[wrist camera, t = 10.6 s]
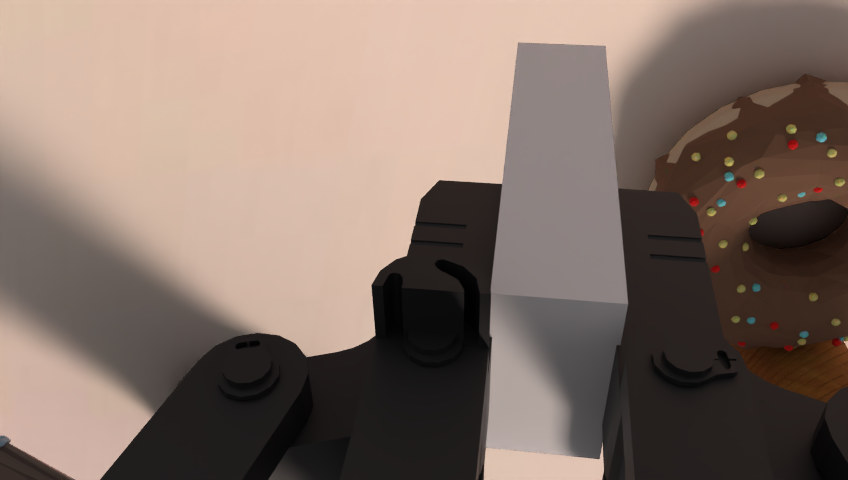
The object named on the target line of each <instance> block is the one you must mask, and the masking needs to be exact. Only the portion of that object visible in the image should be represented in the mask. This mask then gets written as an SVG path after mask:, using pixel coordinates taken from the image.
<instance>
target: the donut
mask: <svg viewBox="0 0 848 480" xmlns="http://www.w3.org/2000/svg"><path fill="white" fill-rule="evenodd" d="M655 164H656V171H655V177H654V179H653V181H652V183H651V185H650V187H649V190H648V191H663V192H678V193H679V194H680V195H681V196H682V197H683V199H684V200H685V201H686V202H687V203H688V204H689V205H690V207H691V208H692V209H693V210H694V211H695V212H696V213H697V216H698V220H699V225H700V230H701V234H702V243H703V244H704V248H705V253H706V263H708V267H709V272H710V276H711V281H712V286H713V290H714V295H715V300H716V304H717V309H718V314H719V318H720V323H721V328H722V332H723V336H724V339H725V340H726V341H727V342H729V343H731V344H734V345H736V346H738V347H740V348H742V349H744V350H747V349H753V348H758V347H764V346H766V347H773V348H784V349H785V350H786V351H791V350H792V349H793V348H797V347H798V346H803V345H808V344H813V343H818V342H823V341H828V340H832V344H833V345H834V346H836V347H837V346H839V345H841V342H842V341H843V340H844V341H848V214H847V218H846V219H845V221H844V222H843V223H842V224H841V226H840V227H839V228H838V229H837V230H836V231H834V232H833V233H832V234H830V235H829V236H828V237H826V238H824V239H822V240H819V241H817V242H814V243H811V244H809V245H806V246H804V247H797V248H784V249H778V248H773V247H769V246H765V245H761V244H759V243H757V242H756V241H754V240H752V239H751V238H750V235H749V228H750V226H751V225H754V224H756V223H757V217H758V216H759V215H761V214H763V213H766V212H768V211H771V210H774V209H778V208H782V207H786V206H791V205H795V204H799V203H803V202H807V201H819V200H826V199H830V200H832V201H834V202H836V203H838V204H840V205H842V206H844V207H846V208H847V209H848V82H828V81H825V80H822V79H819V78H816V77H813V76H810V75H807V74H805V75H803V76H802V77H801V78H800V79H799V80H798V81H796V82H795V83H794V84H790V85H785V86H780V87H775V88H770V89H765V90H761V91H759V92H756V93H754V94H751V95H749V96H747V97H739V98H738V99H737V101H735V102H732V103H730V104H728V105H725V106H723V107H721V108H719V109H718V110H717V111H715V112H714V113H712V114H711V115H710V116H708V117H707V118H705V119H704V120H702V121H701V122H700V123H698V124H697V125H695V126H694V127H692V128H691V129H690V130H688V131H687V132H686V133H685V134H684V136H683V137H682V138H681V139H680V140H679V141H678V142H677V144H676V145H675V146H674V147H673V148H672V149H671V150H670V151H669V153H668V154H666V155H664V156H662V157H660V158H658V159H656V160H655Z"/></svg>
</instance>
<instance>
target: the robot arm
mask: <svg viewBox="0 0 848 480" xmlns="http://www.w3.org/2000/svg"><path fill="white" fill-rule="evenodd" d="M372 296H373V309H374V321H375V333H376V336H374V337H373V338H372V339H370V340H369V341H367V342H365V343H363V344H361V345H359V346H356V347H354V348H351V349H347V350H344V351H340V352H335V353H329V354H323V355H318V356H312V357H306V356H305V355H304V354H303V353H302V351H301V350H300V349H299V348H298V346H297V345H296V344H295V343H293V342H291V341H289V340H287V339H285V338H283V337H281V336H278V335H270V334H261V333H255V334H249V335H243V336H237V337H234V338H232V339H230V340H227V341H225V342H223V343H221V344H219V345H216V346H215V347H214V348H212V349H211V350H210V351H209V352H208V353H207V354H206V355H204V356H203V357H202V358H201V359H200V360H199V361H198V362H197V363H196V365H195V366H194V367H193V368H192V369H191V371H190V372H189V373H188V374H187V375H186V376H185V377H184V378H183V379H182V380H181V381H180V382H179V384H178V385H177V387H176V389H175V390H174V391H173V392H172V394H171V395H170V396H169V397H168V398H167V400H166V401H165V402H164V403H163V404H162V406H161V407H160V408H159V409H158V410H157V412H156V413H155V414H154V415H153V416H152V418H151V419H150V420H149V421H148V423H147V424H146V425H145V426H144V427H143V429H142V430H141V431H140V432H139V433H138V435H137V436H136V437H135V438H134V439H133V441H132V442H131V443H130V444H129V446H128V447H127V448H126V449H125V450H124V452H123V453H122V454H121V455H120V456H119V458H118V459H117V460H116V461H115V462H114V464H113V465H112V466H111V467H110V468H109V470H108V471H107V472H106V473H105V475H104V476H103V477H102V478H101V479H100V480H484V460H485V449H486V448H495V449H505V450H515V451H525V452H535V453H545V454H554V455H564V456H574V457H584V458H594V459H600V453H601V448H602V443H603V458H604V474H603V479H602V480H848V387H844V388H841V389H840V390H839V391H838V392H837V393H835V394H834V395H833V396H832V397H831V398H830V399H829V400H828V402H827V403H826V402H823V401H820V400H817V399H814V398H811V397H808V396H805V395H802V394H799V393H795V392H792V391H789V390H786V389H784V388H781V387H779V386H777V385H774V384H772V383H769V382H767V381H765V380H764V379H762V378H760V377H759V376H757V375H755V374H754V373H752V372H751V371H749V370H748V368H747V366H746V364H745V362H744V360H743V358H742V356H741V354H740V353H739V352H738V351H737V350H736V349H735V348H734V347H733V346H732V345H731V344H730V343H729V342H727V341H726V340H725V339H724V336H723V332H722V328H721V323H720V318H719V314H718V309H717V304H716V300H715V295H714V290H713V286H712V281H711V276H710V272H709V267H708V263H706V253H705V248H704V244H703V243H702V234H701V230H700V225H699V220H698V216H697V213H696V212H695V211H694V210H693V209H692V208H691V207H690V205H689V204H688V203H687V202H686V201H685V200H684V199H683V197H682V196H681V195H680V194H679V193H678V192H663V191H646V190H630V189H618V183H617V172H616V161H615V149H614V138H613V127H612V115H611V104H610V92H609V81H608V70H607V58H606V47H605V46H592V45H566V44H540V43H518V48H517V57H516V66H515V75H514V84H513V93H512V102H511V111H510V120H509V129H508V138H507V147H506V156H505V165H504V174H503V183H502V184H491V183H475V182H458V181H442V180H439V181H438V182H437V183H436V184H435V185H434V186H433V187H432V188H431V189H430V190H429V191H428V192H427V193H426V195H425V196H424V197H423V198H422V199H421V201H420V205H419V209H418V213H417V218H416V223H415V226H414V230H413V234H412V238H411V244H410V246H409V250H408V254H407V256H406V257H403V258H399V259H396V260H395V261H393V262H392V263H390V264H389V265H388V266H386V267H385V268H383V269H382V270H381V271H380V272H379V274H378V275H377V277H376V279H375V280H374V282H373V284H372ZM10 441H11V440H10V439H9V438H7V437H6V436H0V480H75V479H73V478H71V477H69V476H67V475H66V474H64V473H62V472H60V471H58V470H56V469H55V468H53V467H51V466H49V465H47V464H46V463H44V462H42V461H40V460H38V459H37V458H35V457H33V456H31V455H29V454H27V453H26V452H24V451H22V450H20V449H18V448H17V447H15V446H13V445H11V444H9V442H10Z"/></svg>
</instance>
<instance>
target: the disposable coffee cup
mask: <svg viewBox="0 0 848 480" xmlns="http://www.w3.org/2000/svg"><path fill="white" fill-rule="evenodd" d="M730 344H731V343H730ZM731 345H732V346H733V347H734V348H735V349H736V350H737V351H738V352H739V353H740V354H741V356H742V358H743V360H744V362H745V364H746V366H747V368H748V370H749V371H751V372H752V373H754V374H755V375H757V376H759V377H760V378H762V379H764V380H765V381H767V382H769V383H772V384H774V385H777V386H779V387H781V388H784V389H786V390H789V391H792V392H795V393H799V394H802V395H805V396H808V397H811V398H814V399H817V400H820V401H823V402H826V403H827V402H828V400H829V399H830V398H831V397H832V396H833V395H834V394H835V393H837V392H838V391H839V390H840V389H841V388H844V387H848V349H847V347H846V345H845V343H844V341H842V342H841V345H839V346H837V347H836V346H834V345H833V344H832V340H828V341H823V342H818V343H813V344H808V345H803V346H798V347H797V348H793V349H792V350H791V351H786V350H785V349H784V348H773V347H766V346H764V347H758V348H753V349H747V350H744V349H742V348H740V347H738V346H736V345H734V344H731Z"/></svg>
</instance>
